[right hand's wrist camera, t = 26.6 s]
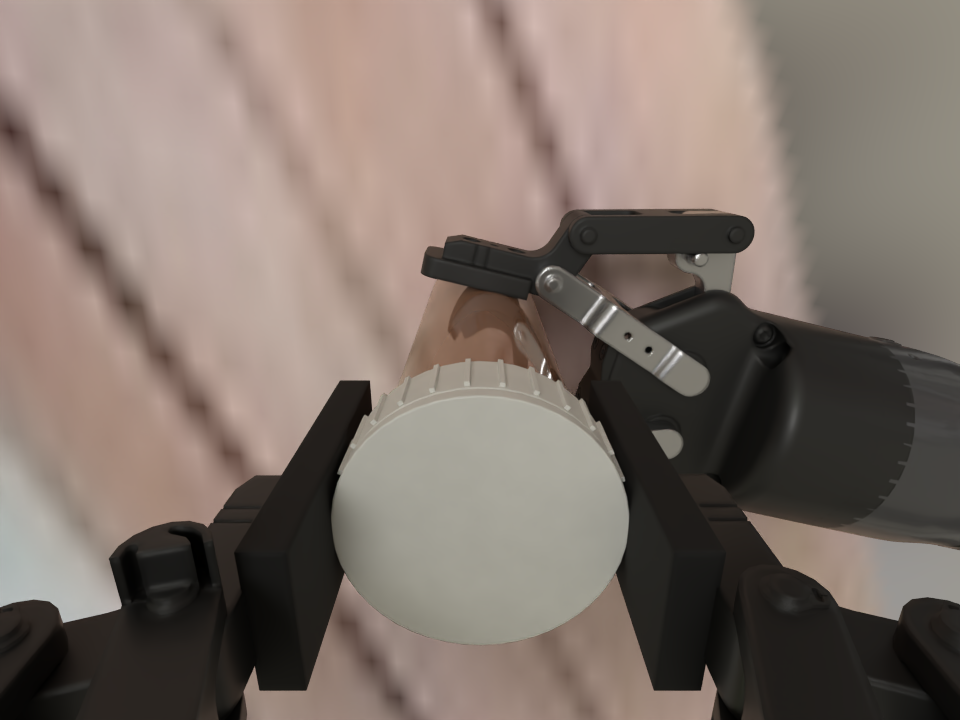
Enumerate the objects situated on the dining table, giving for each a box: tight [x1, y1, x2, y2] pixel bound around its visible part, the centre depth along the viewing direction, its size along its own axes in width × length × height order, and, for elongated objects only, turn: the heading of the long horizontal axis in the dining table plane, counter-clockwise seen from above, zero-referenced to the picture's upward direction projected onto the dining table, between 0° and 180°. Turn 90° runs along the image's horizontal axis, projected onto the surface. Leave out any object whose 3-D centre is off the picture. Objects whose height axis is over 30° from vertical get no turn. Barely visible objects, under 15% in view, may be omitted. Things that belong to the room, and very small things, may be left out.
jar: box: [398, 279, 566, 389], centre depth 19 cm, size 5×5×16 cm
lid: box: [331, 359, 629, 645], centre depth 11 cm, size 6×6×2 cm
